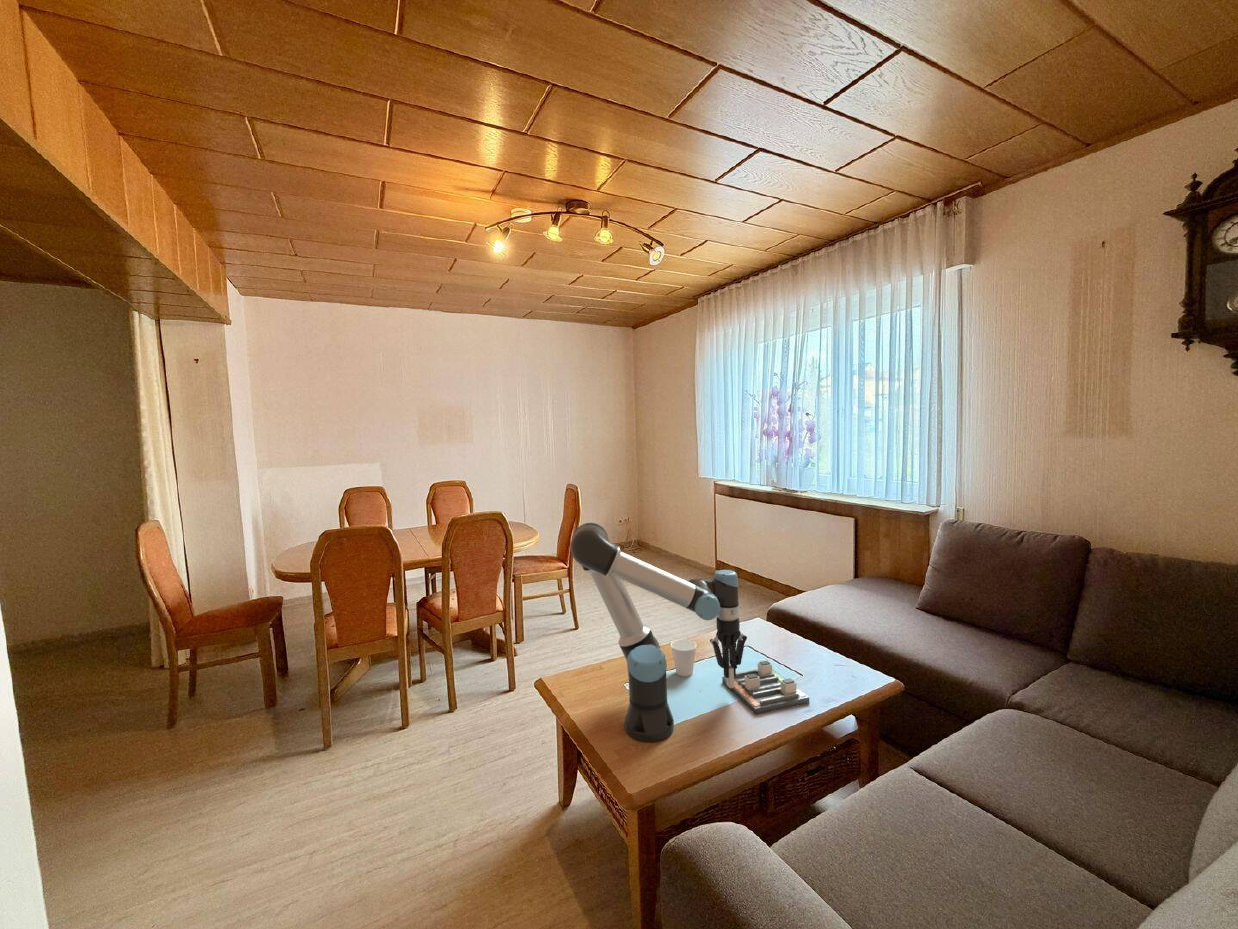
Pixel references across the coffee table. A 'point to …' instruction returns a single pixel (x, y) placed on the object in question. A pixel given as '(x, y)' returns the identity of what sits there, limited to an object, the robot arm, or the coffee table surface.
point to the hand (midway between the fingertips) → (730, 685)
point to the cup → (683, 656)
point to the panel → (765, 693)
